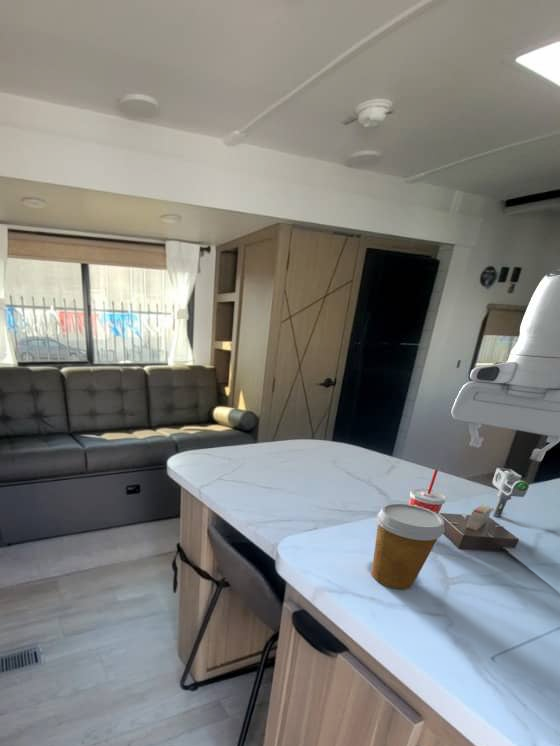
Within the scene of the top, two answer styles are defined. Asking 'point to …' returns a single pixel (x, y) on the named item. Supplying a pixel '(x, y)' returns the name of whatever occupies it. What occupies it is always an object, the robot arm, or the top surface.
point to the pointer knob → (479, 517)
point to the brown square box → (477, 534)
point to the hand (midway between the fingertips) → (503, 453)
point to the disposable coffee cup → (404, 543)
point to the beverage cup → (428, 497)
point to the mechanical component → (507, 488)
